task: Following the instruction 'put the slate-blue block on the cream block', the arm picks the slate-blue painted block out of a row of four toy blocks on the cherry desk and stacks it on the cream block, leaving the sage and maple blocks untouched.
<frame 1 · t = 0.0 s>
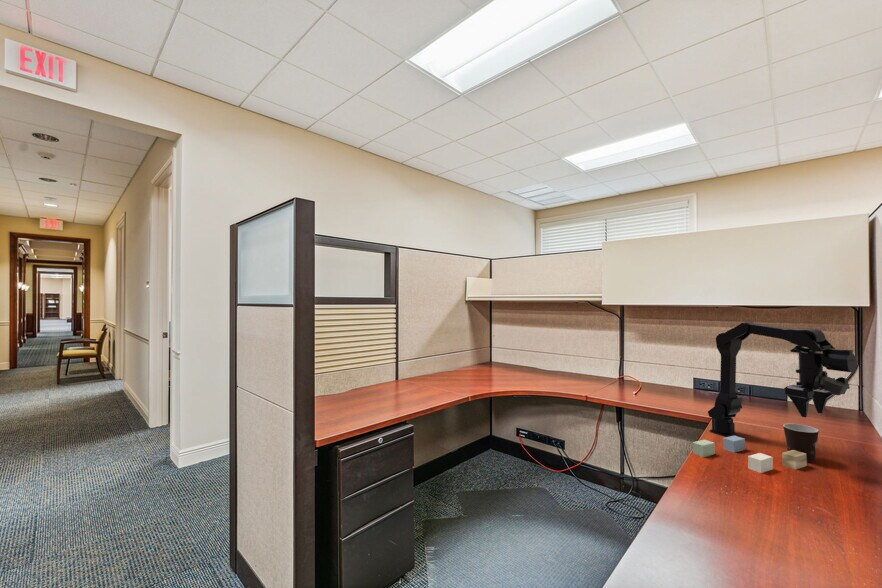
hand: (812, 415, 127), 15 cm above the table, fingers open, 9 cm apart
sage block: (704, 454, 134), on the table
maple block: (794, 465, 124), on the table
blue block: (734, 449, 138), on the table
cream block: (760, 469, 122), on the table
coffee mug: (804, 458, 130), on the table
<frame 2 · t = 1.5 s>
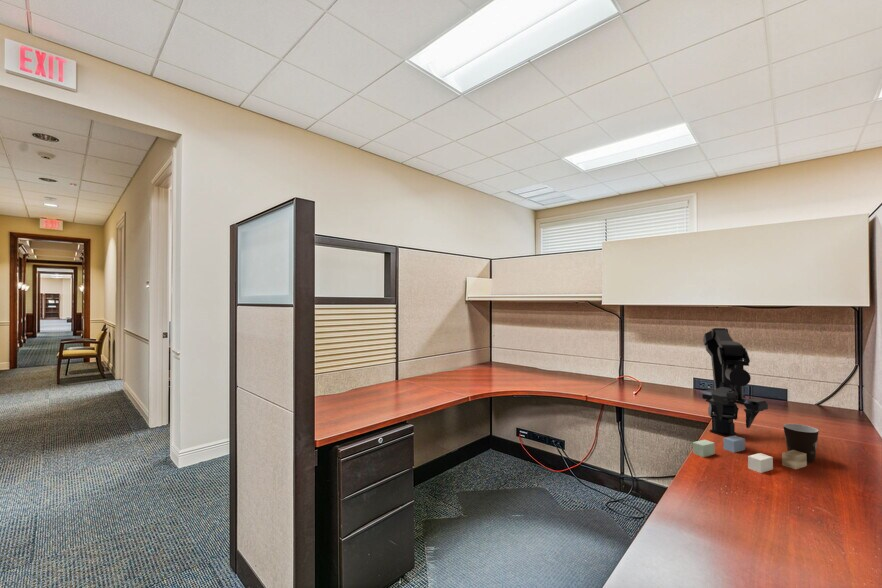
hand: (733, 423, 138), 9 cm above the table, fingers open, 9 cm apart
nothing on the table moved.
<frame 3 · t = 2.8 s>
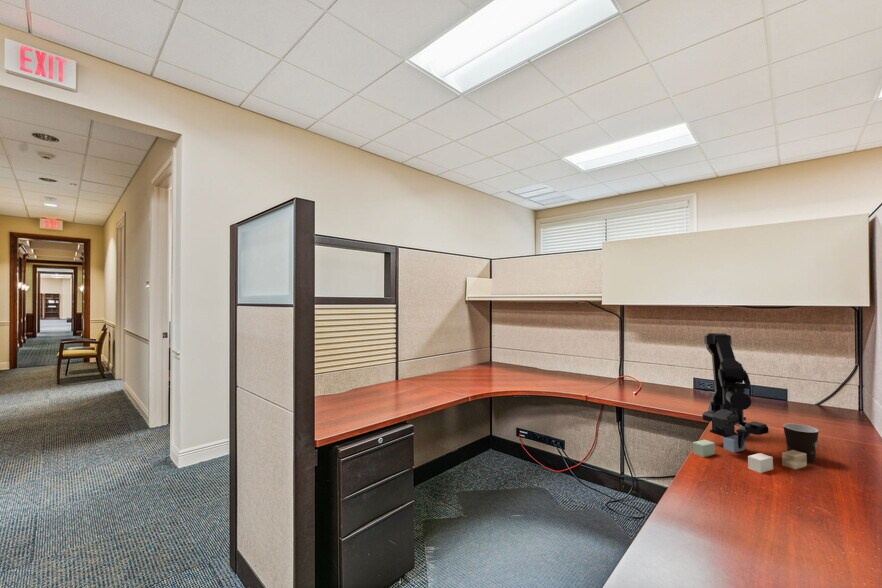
hand: (734, 446, 138), 1 cm above the table, fingers closed on blue block, 3 cm apart
blue block: (734, 449, 138), on the table, touching gripper
everything else where it was.
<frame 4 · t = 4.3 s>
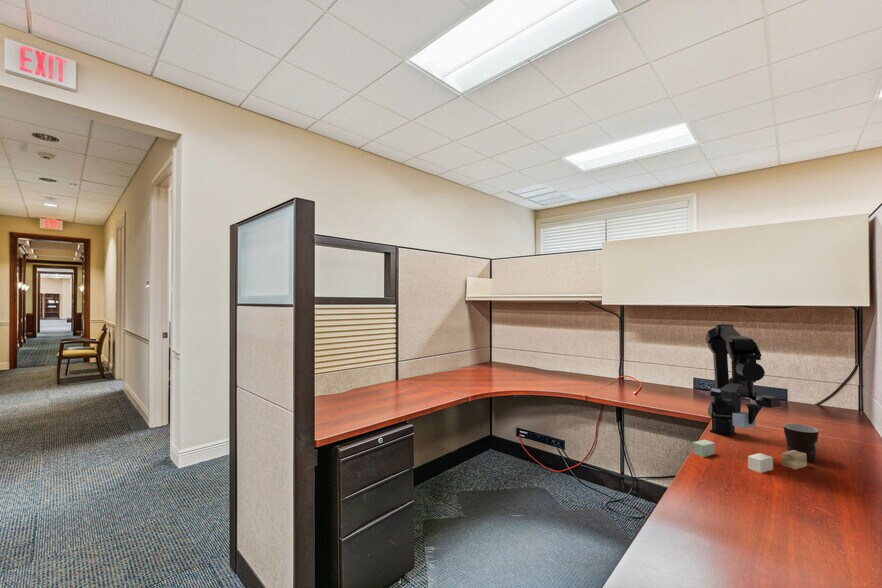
hand: (744, 422, 130), 12 cm above the table, fingers closed on blue block, 3 cm apart
blue block: (744, 425, 130), point 11 cm above the table, touching gripper
everything else where it was.
when the fingers open (7 cm above the table, at t = 5.8 s): blue block drops 2 cm, resting on cream block.
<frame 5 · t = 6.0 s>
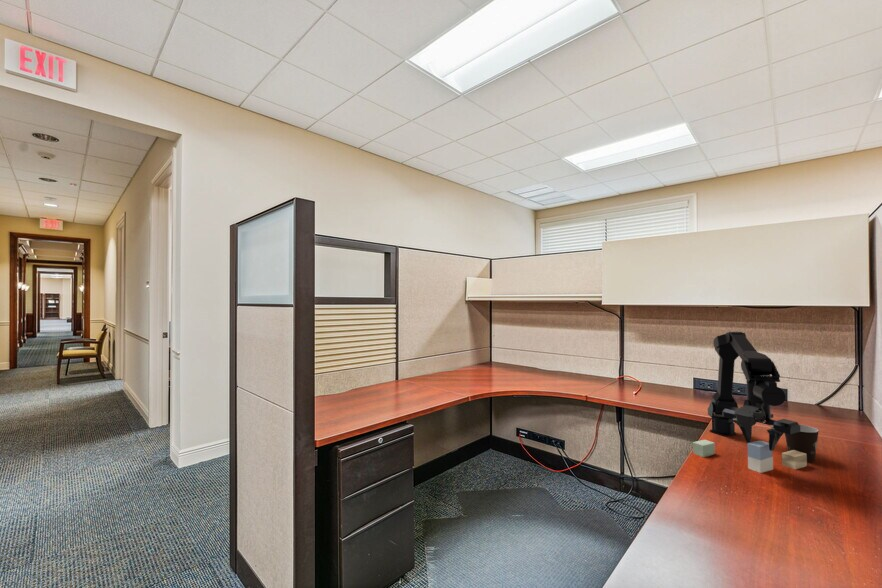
hand: (759, 447, 122), 7 cm above the table, fingers open, 6 cm apart
blue block: (760, 456, 122), point 4 cm above the table, touching cream block
cream block: (760, 469, 122), on the table, touching blue block
everything else where it was.
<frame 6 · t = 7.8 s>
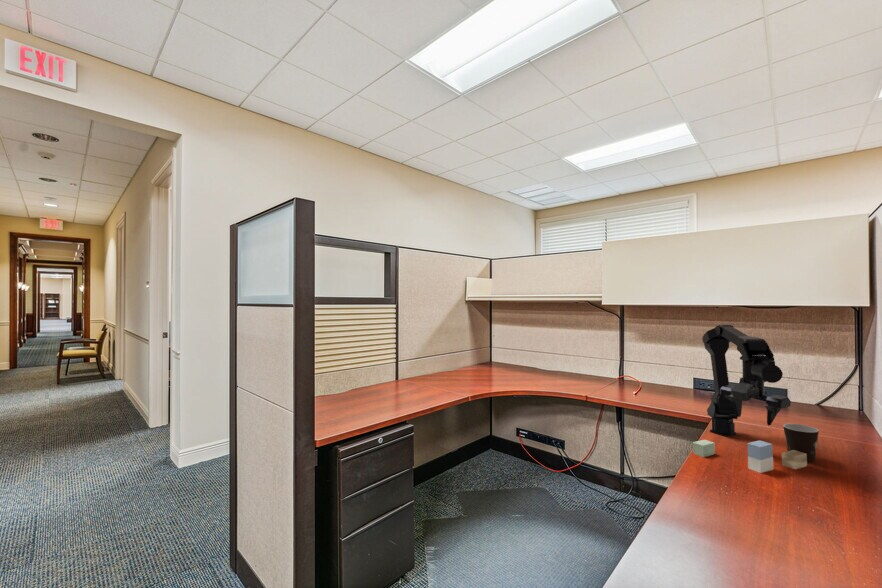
hand: (753, 420, 133), 11 cm above the table, fingers open, 9 cm apart
nothing on the table moved.
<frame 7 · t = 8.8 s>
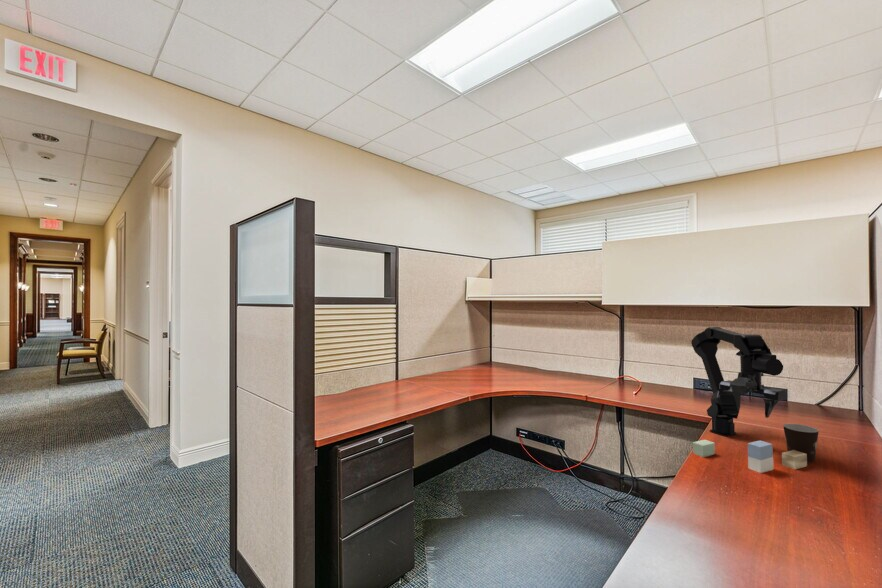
hand: (752, 414, 138), 12 cm above the table, fingers open, 9 cm apart
nothing on the table moved.
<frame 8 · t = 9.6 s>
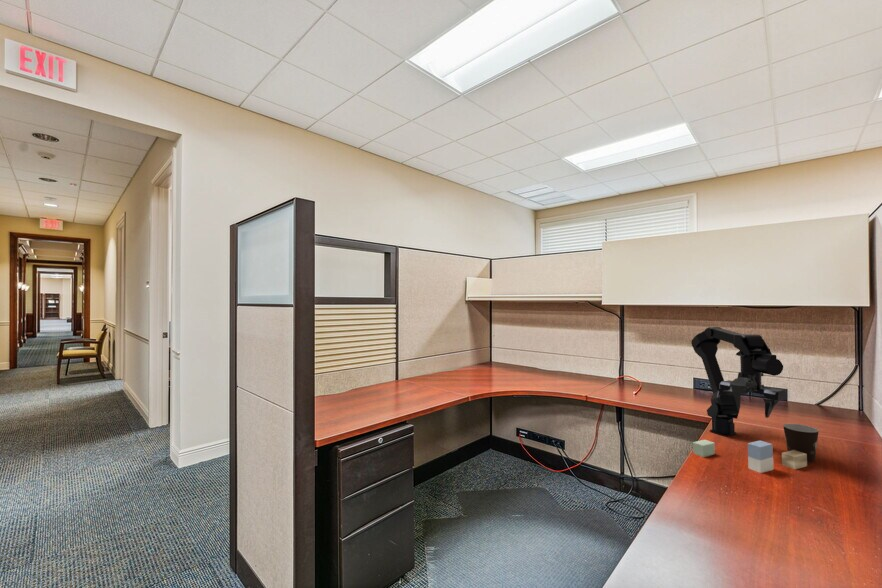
hand: (752, 414, 138), 12 cm above the table, fingers open, 9 cm apart
nothing on the table moved.
at the end: blue block 0.1 cm off-centre on the cream block, point 4.0 cm above the cream block's base; sage block moved 0.2 cm from its start; maple block moved 0.2 cm from its start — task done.
